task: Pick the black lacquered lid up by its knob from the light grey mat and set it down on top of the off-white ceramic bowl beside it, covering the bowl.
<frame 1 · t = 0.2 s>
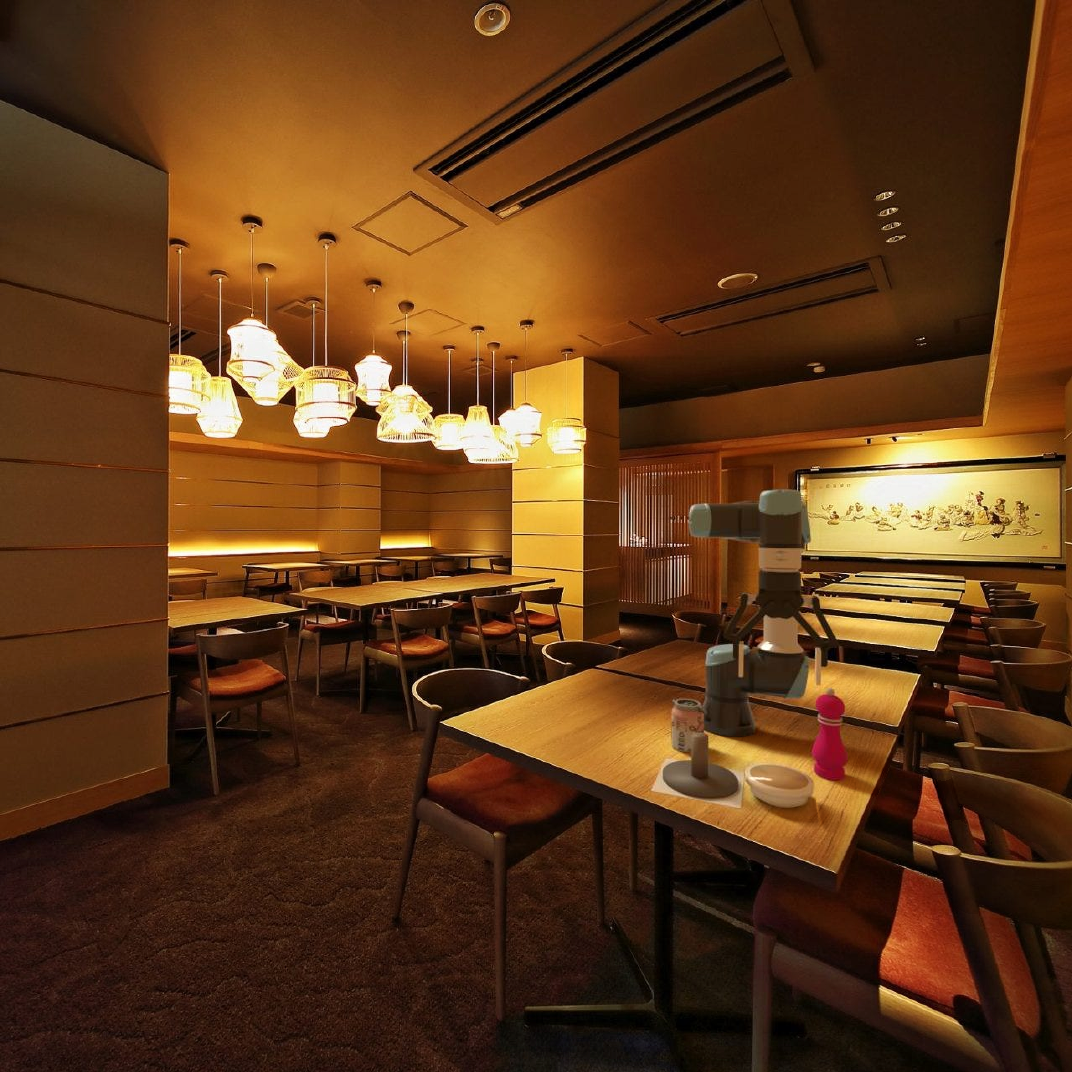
hand: (778, 679, 104), 28 cm above the table, fingers open, 13 cm apart
mat: (699, 783, 120), on the table
beverage can: (688, 748, 139), on the table
lid: (699, 780, 120), point 1 cm above the table, touching mat
bowl: (778, 800, 113), on the table
pepper mill: (829, 775, 125), on the table
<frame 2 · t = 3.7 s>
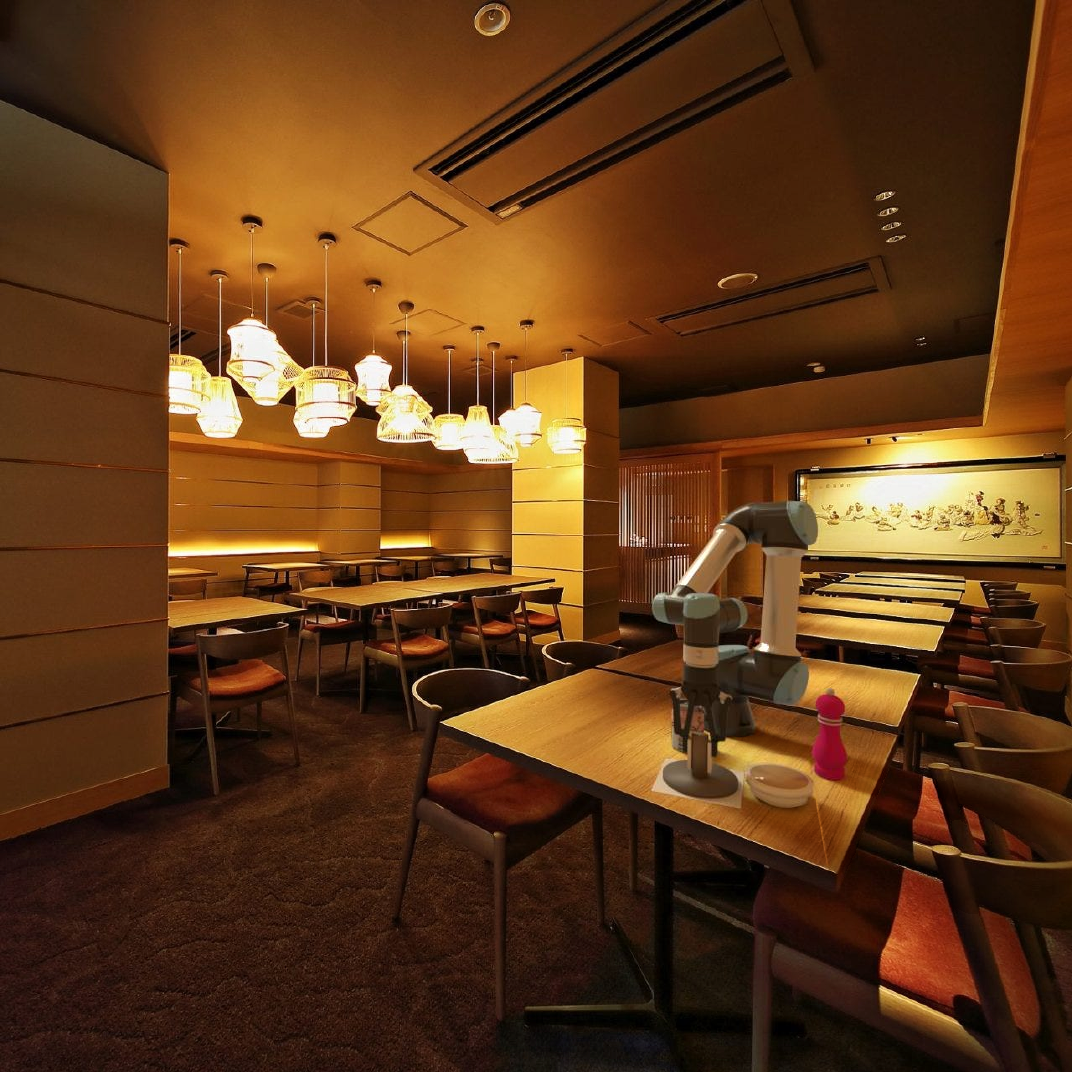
hand: (699, 768, 120), 3 cm above the table, fingers closed on lid, 3 cm apart
lid: (699, 780, 120), point 1 cm above the table, touching gripper
everything else where it was.
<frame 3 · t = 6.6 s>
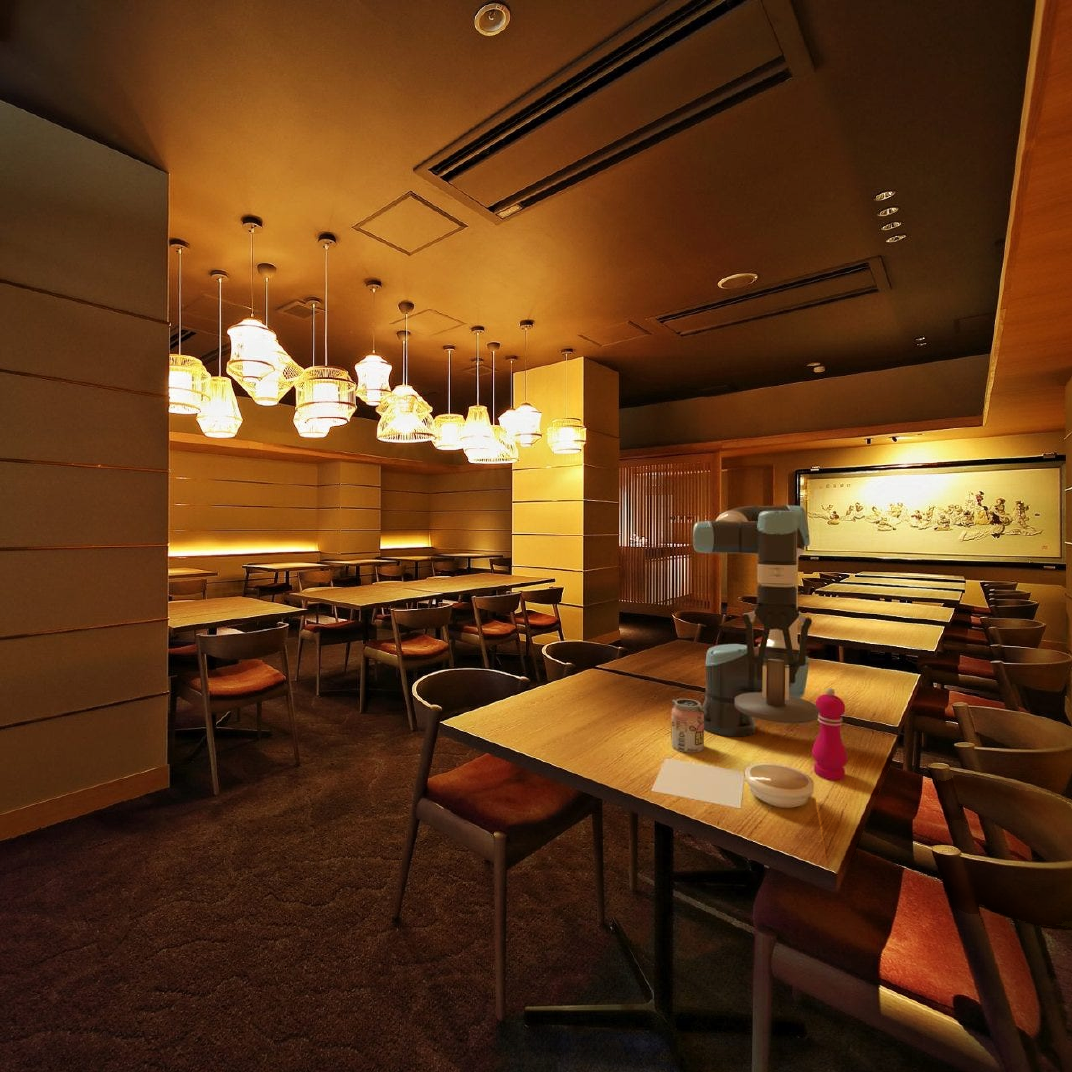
hand: (775, 696, 113), 22 cm above the table, fingers closed on lid, 3 cm apart
lid: (775, 709, 112), point 19 cm above the table, touching gripper
everything else where it was.
when the fingers open (9 cm above the table, at t = 9.6 s): lid drops 2 cm, resting on bowl.
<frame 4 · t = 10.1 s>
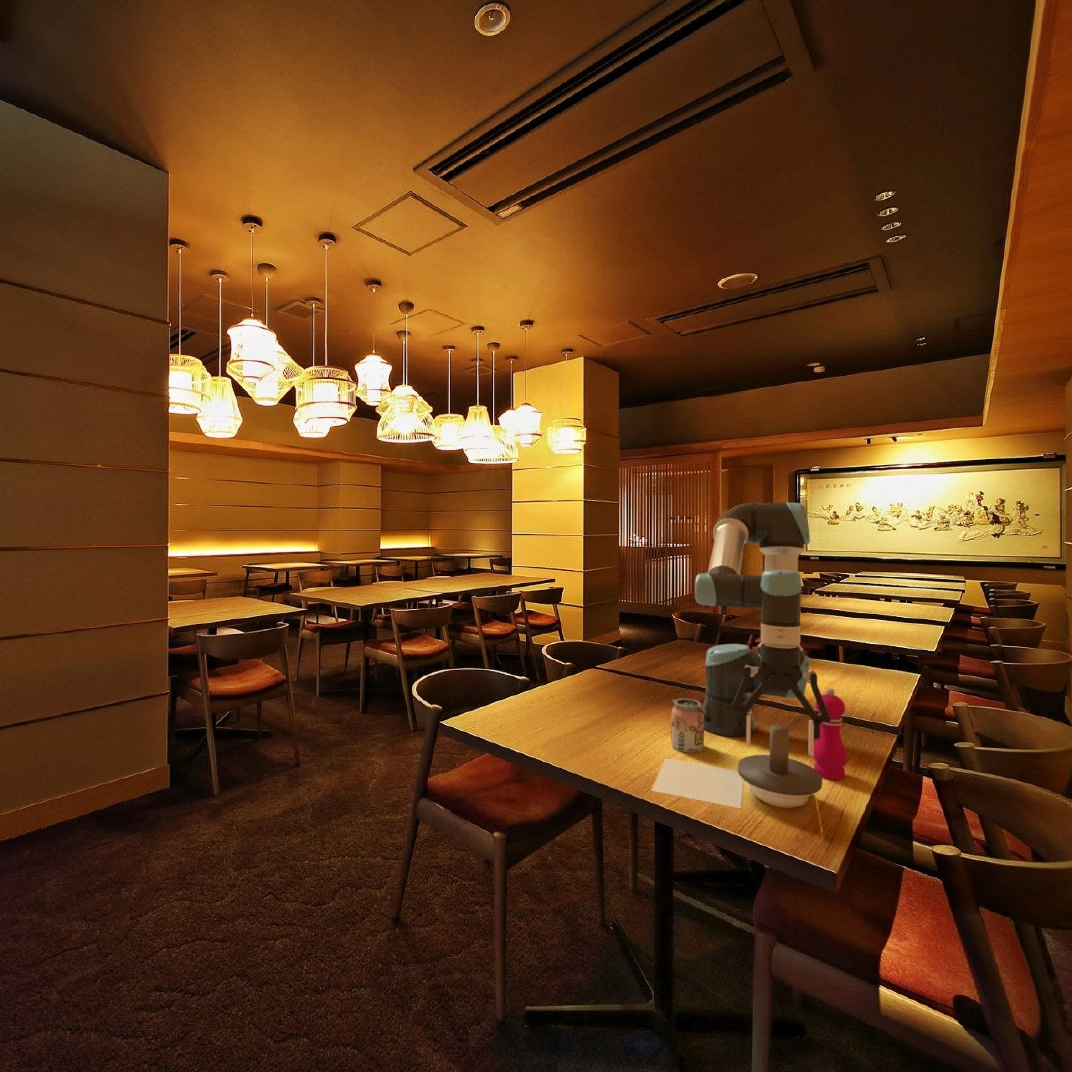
hand: (779, 748, 112), 11 cm above the table, fingers open, 11 cm apart
lid: (778, 776, 112), point 5 cm above the table, touching bowl
everything else where it was.
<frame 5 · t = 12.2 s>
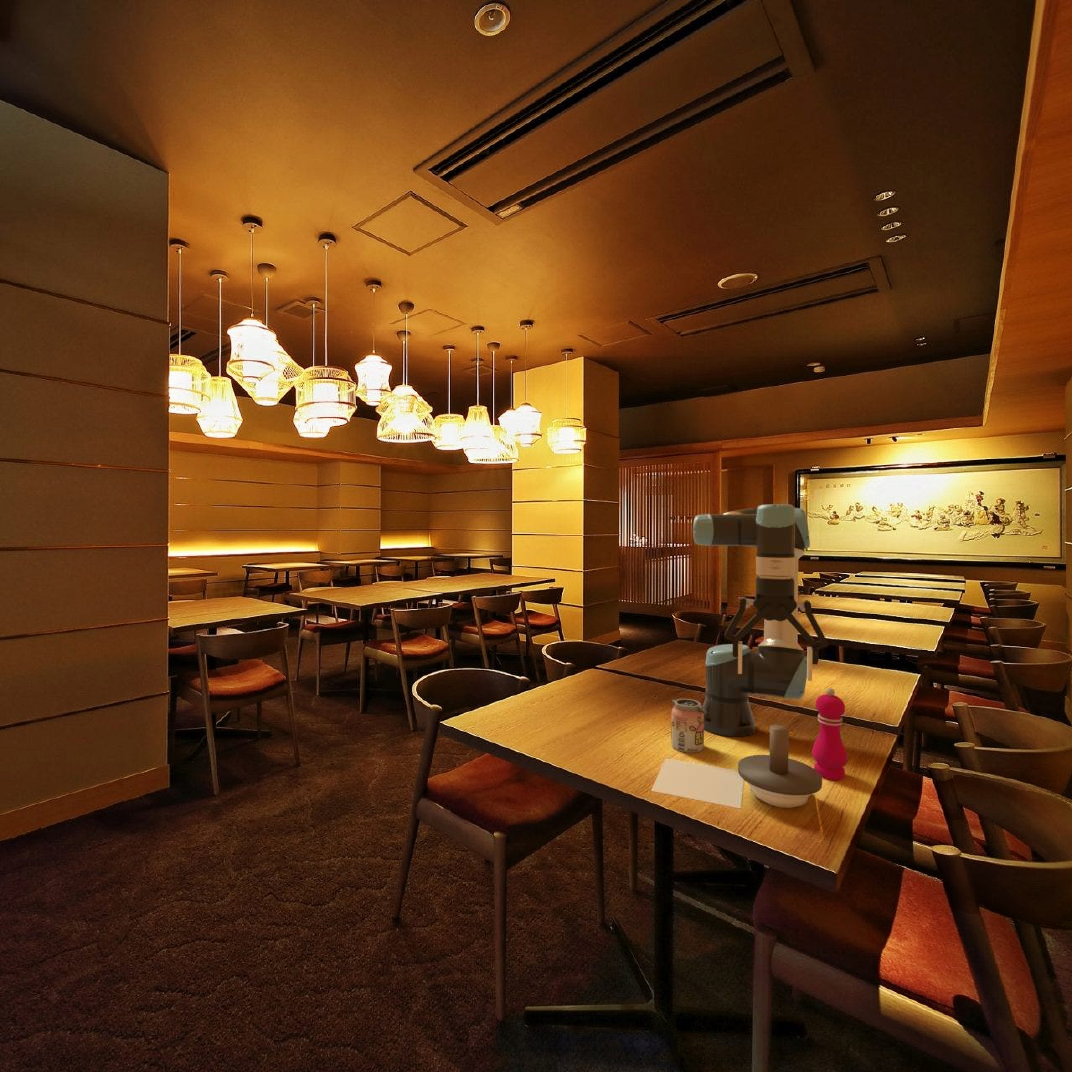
hand: (773, 675, 115), 25 cm above the table, fingers open, 13 cm apart
nothing on the table moved.
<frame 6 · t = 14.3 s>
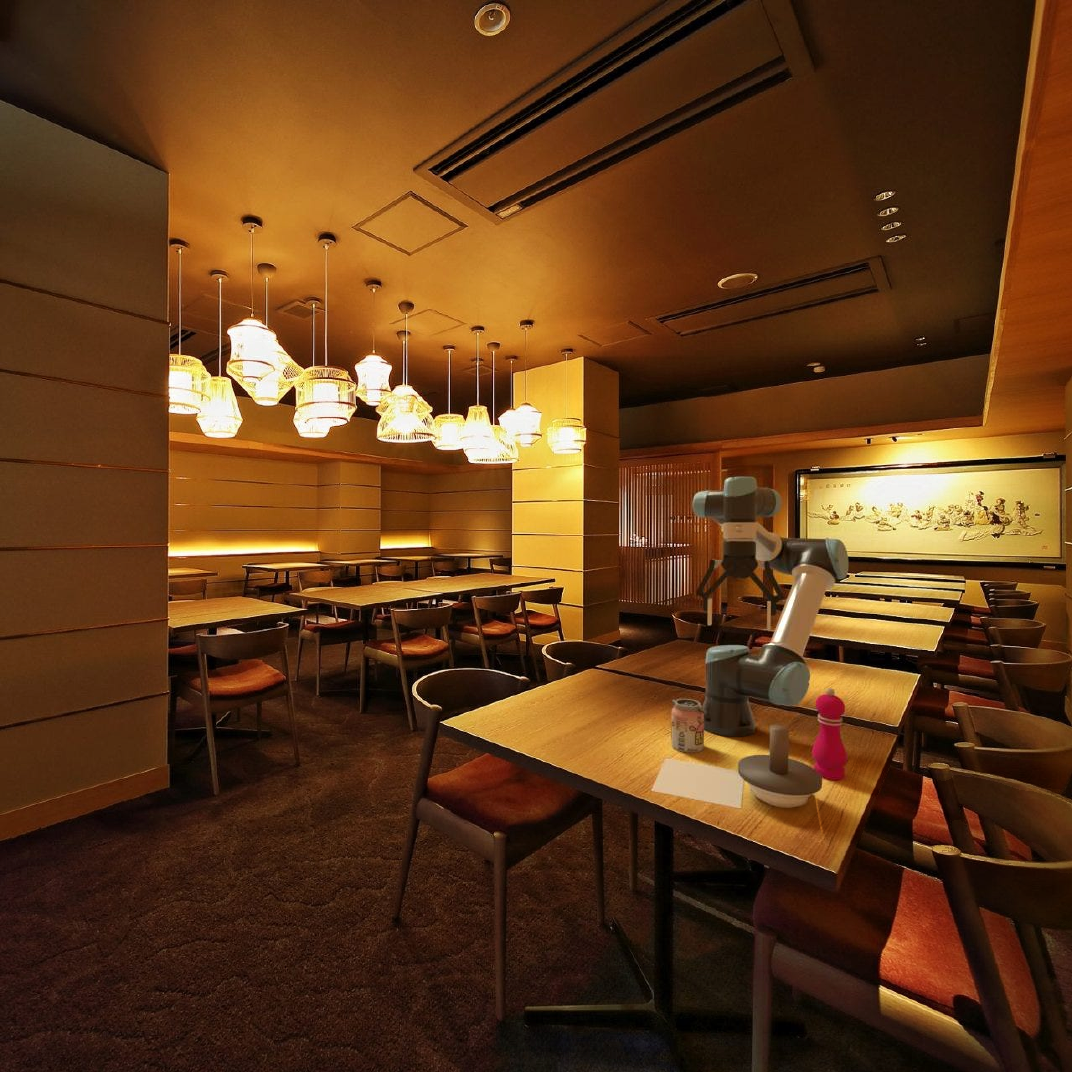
hand: (738, 626, 132), 33 cm above the table, fingers open, 13 cm apart
nothing on the table moved.
at the end: lid 0.0 cm off-centre on the bowl, point 5.0 cm above the bowl's base; lid tilted 0°; the gripper is holding nothing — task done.
